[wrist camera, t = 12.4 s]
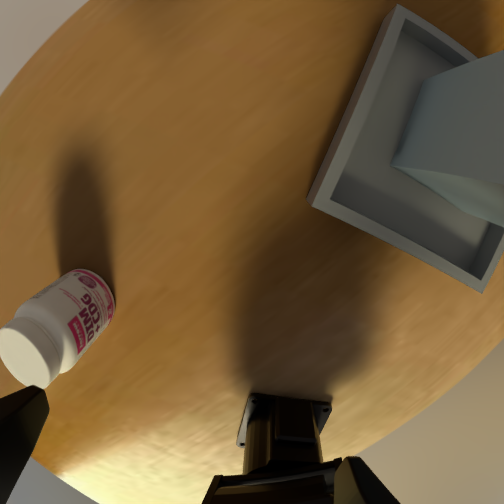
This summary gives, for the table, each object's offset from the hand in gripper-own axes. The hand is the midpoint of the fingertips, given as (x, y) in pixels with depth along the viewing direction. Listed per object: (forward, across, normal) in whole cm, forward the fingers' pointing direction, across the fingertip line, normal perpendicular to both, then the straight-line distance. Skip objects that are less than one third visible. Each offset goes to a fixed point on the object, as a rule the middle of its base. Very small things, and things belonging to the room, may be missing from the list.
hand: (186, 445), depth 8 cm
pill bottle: (+13, +10, +4) cm, 17 cm away
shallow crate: (+13, -11, -10) cm, 20 cm away
